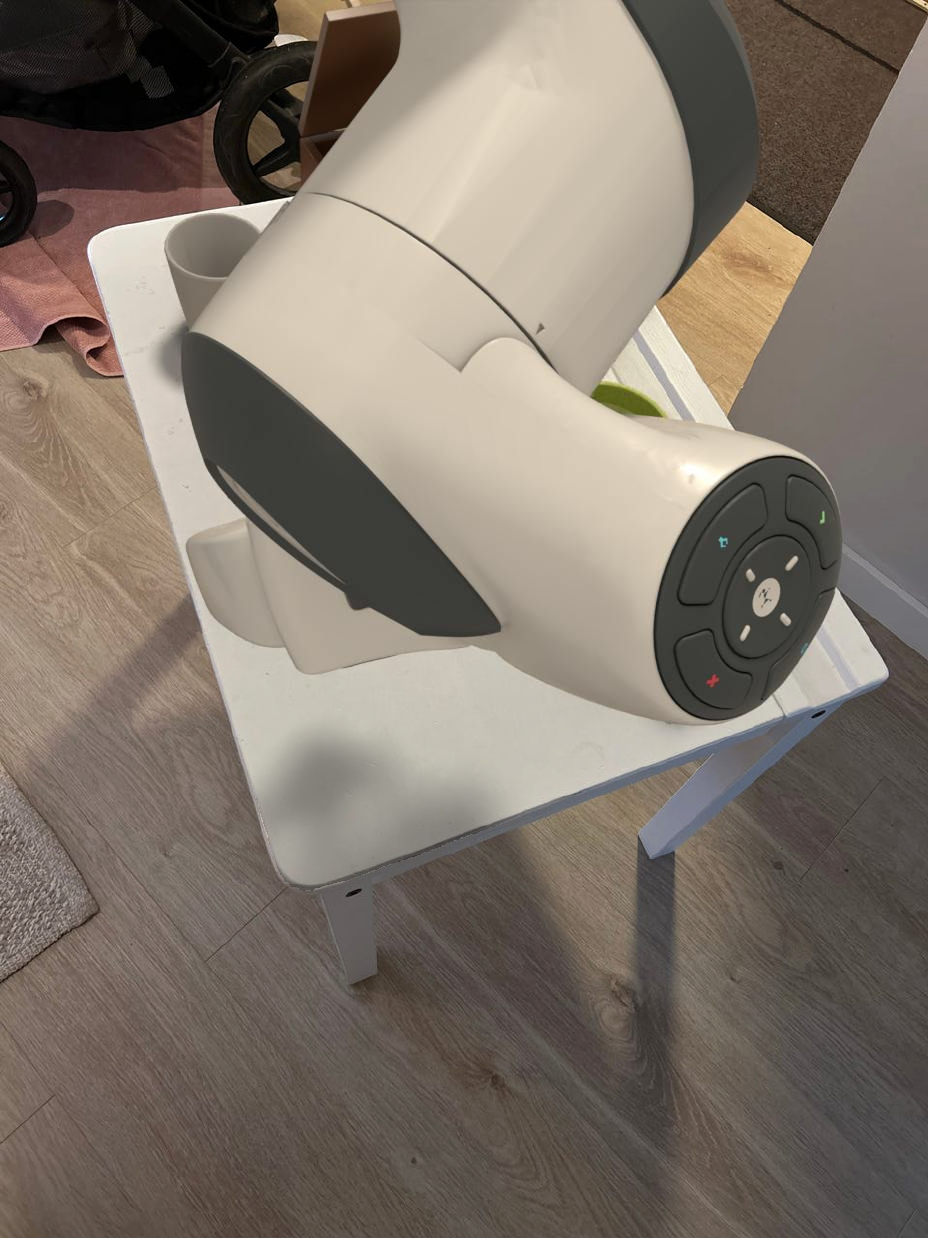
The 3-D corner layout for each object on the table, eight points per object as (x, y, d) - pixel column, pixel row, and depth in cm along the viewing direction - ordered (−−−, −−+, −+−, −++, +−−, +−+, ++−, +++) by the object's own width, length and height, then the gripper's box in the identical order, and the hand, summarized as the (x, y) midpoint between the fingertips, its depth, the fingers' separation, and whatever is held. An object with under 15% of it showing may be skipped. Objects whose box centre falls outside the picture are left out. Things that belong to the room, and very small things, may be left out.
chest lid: (466, -1, 67) (440, -61, 68) (328, 21, 64) (302, -41, 64) (419, 112, 79) (398, 62, 79) (301, 137, 76) (278, 84, 76)
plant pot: (591, 575, 71) (623, 505, 64) (498, 500, 74) (517, 424, 66) (664, 507, 76) (701, 434, 68) (573, 438, 78) (599, 360, 71)
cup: (173, 303, 80) (158, 214, 73) (292, 293, 82) (290, 206, 75) (184, 369, 76) (169, 283, 69) (309, 357, 79) (307, 273, 72)
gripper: (676, 373, 40) (517, 379, 52) (208, 533, 33) (150, 498, 45) (701, 515, 42) (543, 490, 54) (266, 695, 35) (196, 619, 47)
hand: (362, 494), depth 50 cm, fingers closed on robot figurine, 7 cm apart
